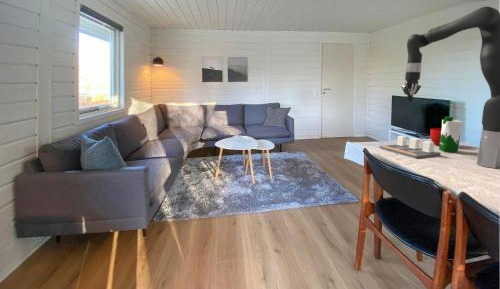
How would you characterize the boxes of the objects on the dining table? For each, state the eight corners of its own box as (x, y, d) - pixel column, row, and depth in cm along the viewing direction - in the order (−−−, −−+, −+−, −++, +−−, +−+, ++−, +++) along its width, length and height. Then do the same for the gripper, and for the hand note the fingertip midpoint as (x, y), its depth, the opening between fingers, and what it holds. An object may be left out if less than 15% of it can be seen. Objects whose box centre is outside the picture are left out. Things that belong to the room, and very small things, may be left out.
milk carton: (436, 149, 176) (441, 116, 172) (453, 149, 174) (458, 116, 170) (442, 152, 168) (447, 117, 164) (460, 153, 166) (465, 118, 162)
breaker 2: (433, 152, 161) (434, 142, 160) (428, 152, 160) (429, 142, 159) (426, 150, 165) (427, 140, 164) (421, 151, 164) (422, 141, 163)
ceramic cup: (464, 147, 179) (466, 131, 177) (434, 147, 181) (436, 131, 179) (452, 143, 191) (454, 128, 189) (425, 142, 193) (426, 128, 191)
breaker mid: (419, 148, 170) (420, 139, 168) (414, 149, 168) (415, 139, 167) (413, 147, 174) (414, 138, 172) (408, 147, 173) (409, 138, 171)
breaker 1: (406, 145, 178) (407, 136, 177) (402, 146, 177) (403, 137, 176) (400, 144, 182) (401, 135, 181) (396, 144, 181) (397, 135, 180)
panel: (440, 155, 161) (440, 152, 161) (415, 158, 155) (416, 155, 155) (402, 145, 185) (402, 143, 185) (379, 148, 179) (379, 145, 179)
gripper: (410, 71, 161) (406, 102, 165) (427, 71, 166) (423, 102, 170) (399, 71, 168) (395, 101, 172) (416, 71, 173) (412, 101, 176)
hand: (409, 101), depth 171 cm, fingers closed
